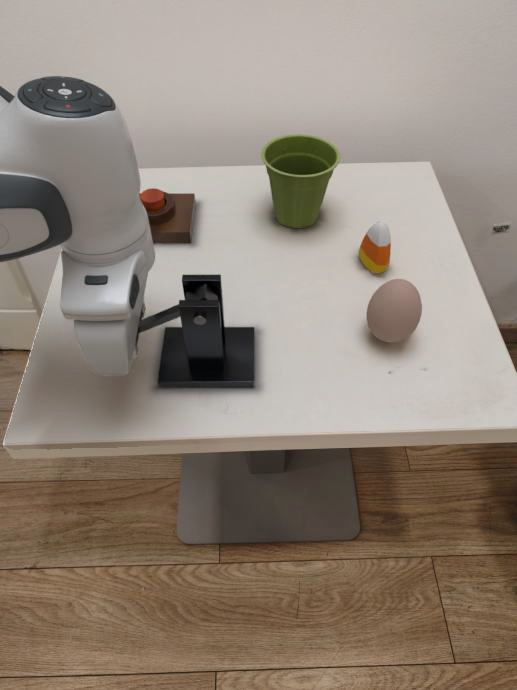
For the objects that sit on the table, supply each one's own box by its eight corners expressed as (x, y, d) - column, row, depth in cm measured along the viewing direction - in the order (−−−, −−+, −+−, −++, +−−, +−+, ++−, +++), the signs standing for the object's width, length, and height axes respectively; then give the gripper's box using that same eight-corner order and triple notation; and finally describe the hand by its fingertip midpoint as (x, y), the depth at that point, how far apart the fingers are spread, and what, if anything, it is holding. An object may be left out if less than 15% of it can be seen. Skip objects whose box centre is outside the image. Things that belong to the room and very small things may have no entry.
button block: (115, 243, 82) (109, 222, 79) (125, 204, 88) (120, 184, 85) (191, 243, 82) (188, 222, 79) (195, 204, 88) (193, 184, 85)
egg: (421, 347, 69) (441, 296, 61) (375, 360, 67) (390, 310, 60) (397, 311, 73) (413, 259, 65) (353, 322, 72) (364, 271, 64)
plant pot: (346, 215, 86) (356, 153, 78) (298, 248, 81) (304, 186, 72) (293, 185, 92) (297, 125, 83) (246, 215, 86) (244, 153, 77)
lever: (132, 352, 62) (119, 342, 61) (138, 321, 65) (125, 310, 64) (216, 319, 58) (204, 306, 56) (218, 287, 61) (207, 274, 59)
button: (140, 211, 81) (138, 202, 80) (143, 197, 83) (141, 188, 82) (163, 211, 81) (162, 202, 80) (166, 197, 83) (164, 188, 82)
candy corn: (391, 273, 78) (403, 231, 71) (374, 279, 77) (385, 237, 71) (369, 249, 81) (379, 207, 75) (353, 255, 80) (361, 213, 74)
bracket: (158, 387, 65) (140, 320, 55) (166, 332, 70) (151, 262, 60) (254, 387, 65) (253, 320, 55) (254, 332, 70) (254, 262, 60)
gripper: (97, 187, 59) (122, 275, 70) (54, 322, 46) (92, 404, 57) (153, 187, 59) (169, 275, 70) (125, 322, 46) (149, 404, 57)
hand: (134, 334), depth 63 cm, fingers closed on lever, 5 cm apart
